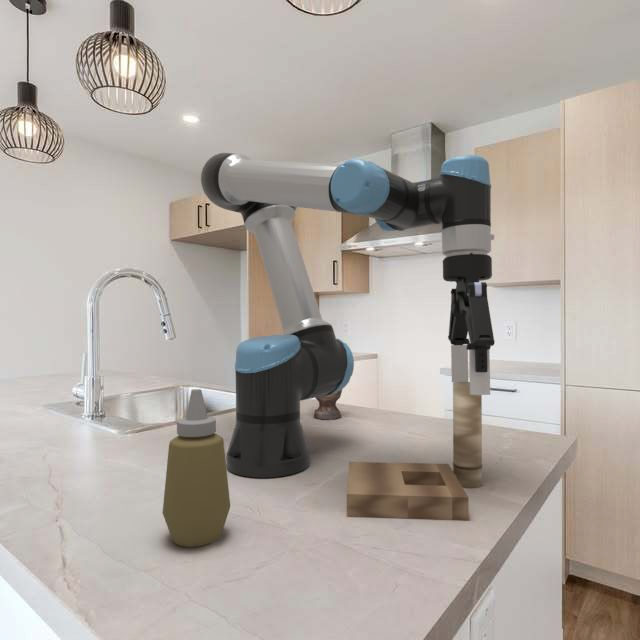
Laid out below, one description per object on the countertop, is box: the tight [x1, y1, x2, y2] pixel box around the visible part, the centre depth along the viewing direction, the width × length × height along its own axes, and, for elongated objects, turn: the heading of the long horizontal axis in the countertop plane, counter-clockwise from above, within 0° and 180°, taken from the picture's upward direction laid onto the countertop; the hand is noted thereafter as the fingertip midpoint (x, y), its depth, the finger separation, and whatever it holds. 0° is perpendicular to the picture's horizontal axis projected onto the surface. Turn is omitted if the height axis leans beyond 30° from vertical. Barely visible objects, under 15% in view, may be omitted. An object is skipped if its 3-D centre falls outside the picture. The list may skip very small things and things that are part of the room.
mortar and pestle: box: [313, 389, 343, 421], centre depth 125 cm, size 12×9×20 cm
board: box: [346, 461, 470, 521], centre depth 68 cm, size 16×14×3 cm
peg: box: [452, 381, 483, 489], centre depth 74 cm, size 4×4×16 cm
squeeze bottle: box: [162, 388, 231, 548], centre depth 56 cm, size 8×8×18 cm
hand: (469, 388), depth 74 cm, fingers open, 13 cm apart
